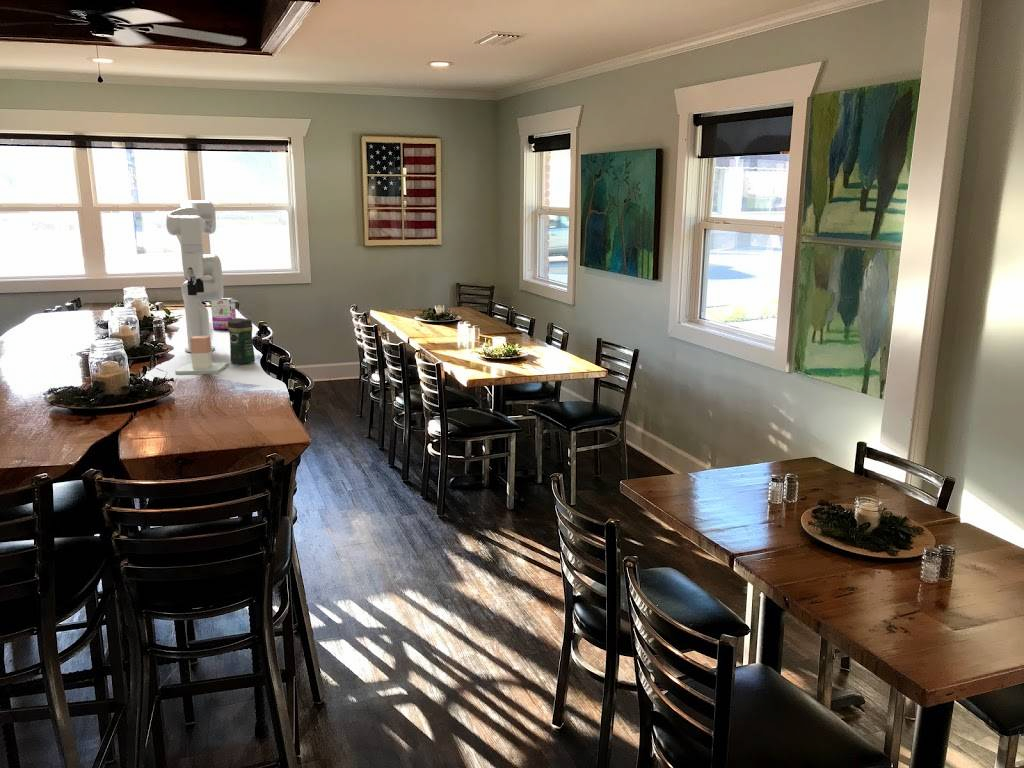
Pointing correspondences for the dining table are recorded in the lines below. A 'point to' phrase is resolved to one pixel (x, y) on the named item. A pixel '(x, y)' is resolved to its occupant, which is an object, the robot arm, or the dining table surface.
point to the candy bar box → (222, 312)
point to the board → (202, 369)
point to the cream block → (201, 360)
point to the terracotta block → (200, 344)
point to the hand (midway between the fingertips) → (196, 293)
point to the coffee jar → (241, 341)
